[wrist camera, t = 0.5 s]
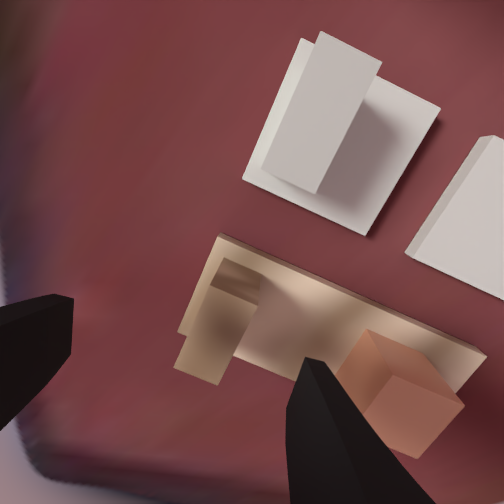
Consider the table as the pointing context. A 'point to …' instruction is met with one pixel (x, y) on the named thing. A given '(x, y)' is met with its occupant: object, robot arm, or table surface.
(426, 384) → the terracotta cube
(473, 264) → the white block
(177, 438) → the table surface
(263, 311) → the birch strip
